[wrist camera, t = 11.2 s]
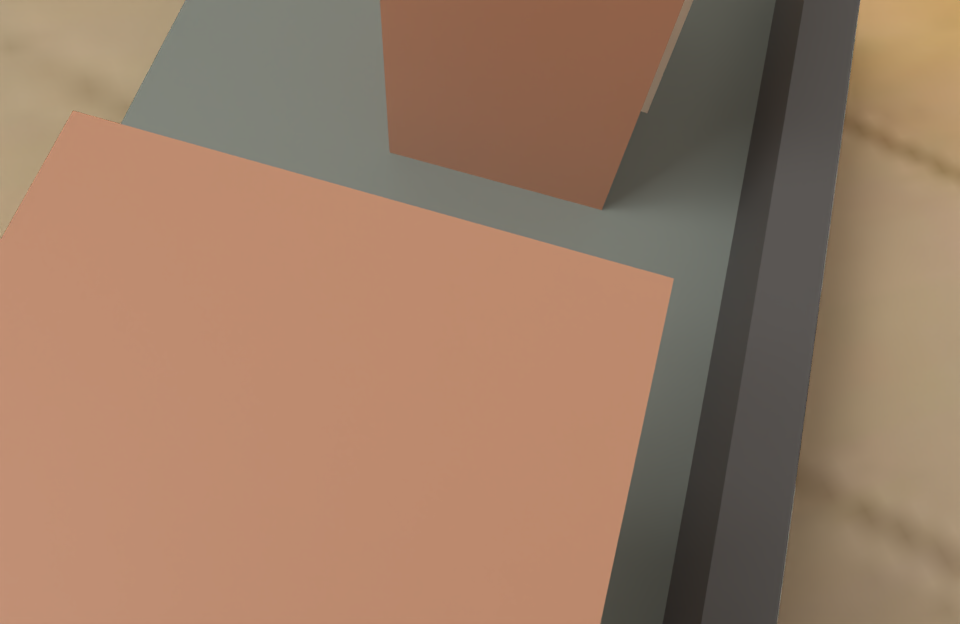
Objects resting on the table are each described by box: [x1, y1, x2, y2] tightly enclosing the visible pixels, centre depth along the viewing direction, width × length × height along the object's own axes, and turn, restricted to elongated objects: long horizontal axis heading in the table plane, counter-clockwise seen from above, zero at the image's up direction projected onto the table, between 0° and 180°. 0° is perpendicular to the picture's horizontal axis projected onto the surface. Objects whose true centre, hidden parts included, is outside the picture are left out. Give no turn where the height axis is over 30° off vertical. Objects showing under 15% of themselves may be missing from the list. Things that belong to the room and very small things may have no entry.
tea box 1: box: [0, 111, 674, 624], centre depth 11 cm, size 5×6×11 cm
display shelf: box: [121, 0, 860, 624], centre depth 18 cm, size 16×27×6 cm, turn 165°
